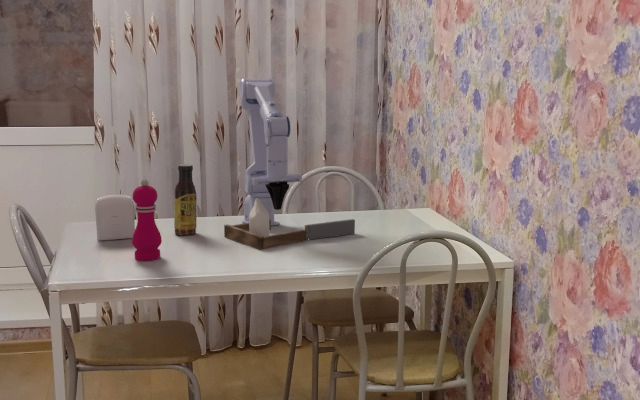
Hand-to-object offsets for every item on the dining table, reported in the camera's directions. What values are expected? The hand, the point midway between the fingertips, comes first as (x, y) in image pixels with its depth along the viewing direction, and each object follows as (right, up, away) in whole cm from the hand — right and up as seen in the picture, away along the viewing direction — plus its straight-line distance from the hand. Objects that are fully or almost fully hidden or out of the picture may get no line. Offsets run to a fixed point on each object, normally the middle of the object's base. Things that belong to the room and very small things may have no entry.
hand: (277, 209), depth 196 cm
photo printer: (-45, -8, 0) cm, 46 cm away
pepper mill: (-32, -12, -18) cm, 39 cm away
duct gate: (+15, -8, +4) cm, 17 cm away
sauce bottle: (-27, -7, +6) cm, 28 cm away
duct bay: (-4, -8, +1) cm, 9 cm away
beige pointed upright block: (-5, -9, -1) cm, 10 cm away
